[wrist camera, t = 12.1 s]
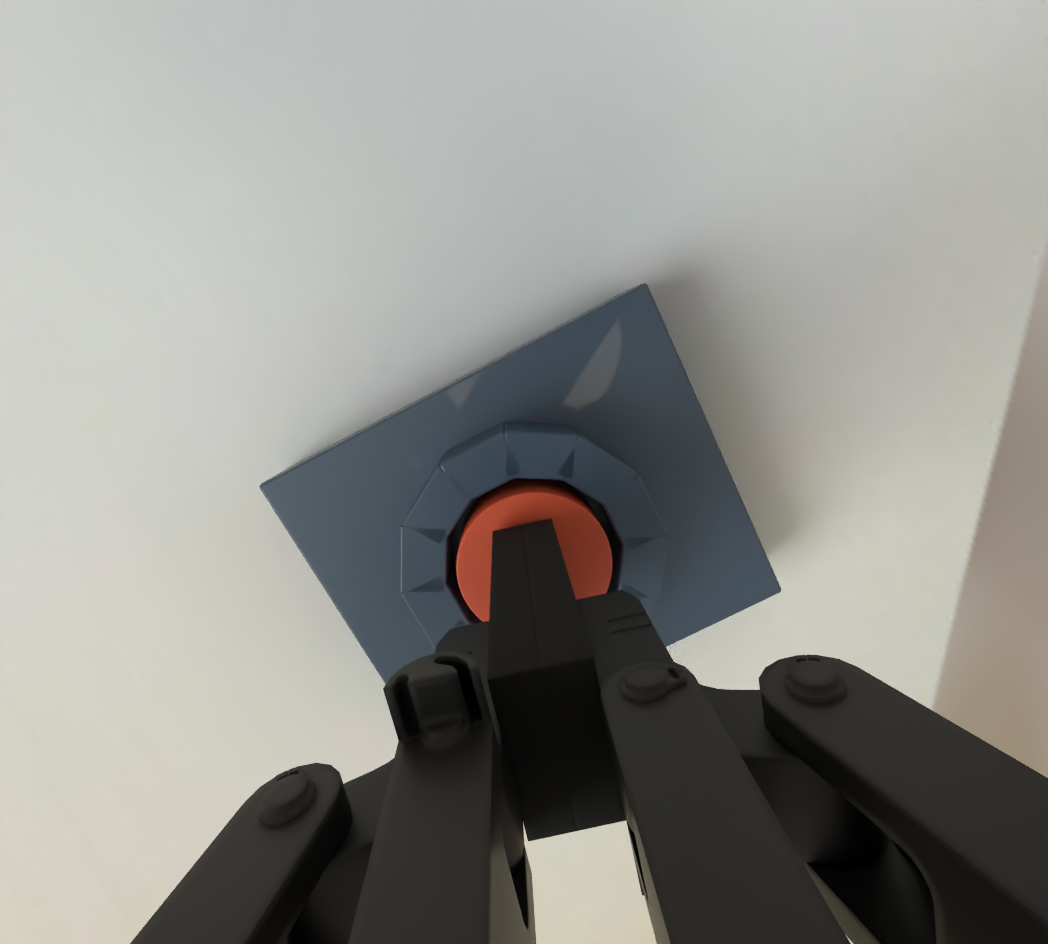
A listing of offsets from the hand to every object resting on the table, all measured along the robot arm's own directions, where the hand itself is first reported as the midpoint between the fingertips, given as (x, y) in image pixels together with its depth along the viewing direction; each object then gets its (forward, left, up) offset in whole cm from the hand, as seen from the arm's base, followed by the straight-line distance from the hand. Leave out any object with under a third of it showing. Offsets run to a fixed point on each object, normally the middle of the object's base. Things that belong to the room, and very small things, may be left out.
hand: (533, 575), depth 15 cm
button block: (0, 0, -5) cm, 5 cm away
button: (0, 0, -2) cm, 2 cm away
